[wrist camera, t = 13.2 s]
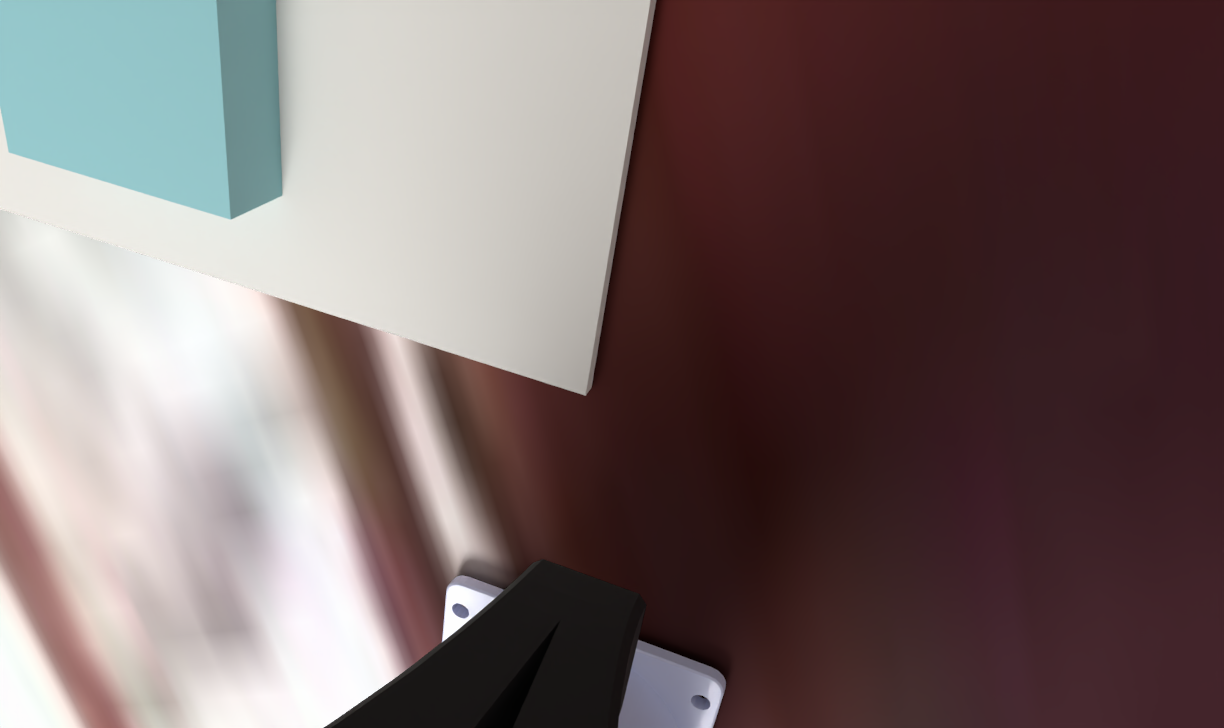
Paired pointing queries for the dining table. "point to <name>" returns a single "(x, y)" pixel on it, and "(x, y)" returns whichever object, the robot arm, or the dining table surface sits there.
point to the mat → (419, 176)
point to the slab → (148, 95)
